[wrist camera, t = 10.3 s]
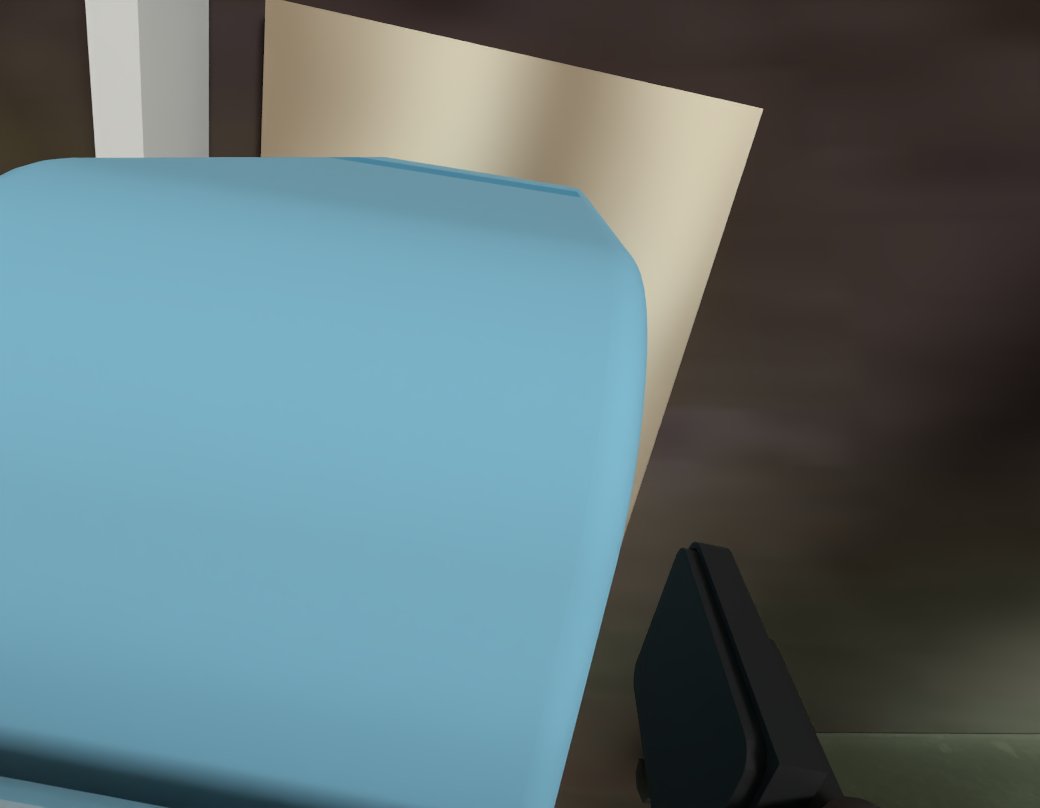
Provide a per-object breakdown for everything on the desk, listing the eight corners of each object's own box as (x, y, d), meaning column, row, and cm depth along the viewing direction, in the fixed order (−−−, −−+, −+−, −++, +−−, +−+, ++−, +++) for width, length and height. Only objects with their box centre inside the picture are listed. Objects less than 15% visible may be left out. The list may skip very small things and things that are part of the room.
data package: (392, 155, 14) (-252, 148, 3) (584, 185, 14) (697, 300, 3) (367, 571, 19) (88, 1187, 7) (512, 593, 19) (447, 1242, 7)
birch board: (756, 110, 14) (763, 108, 13) (578, 662, 20) (578, 674, 20) (276, 2, 13) (265, -4, 13) (253, 598, 20) (246, 608, 19)
